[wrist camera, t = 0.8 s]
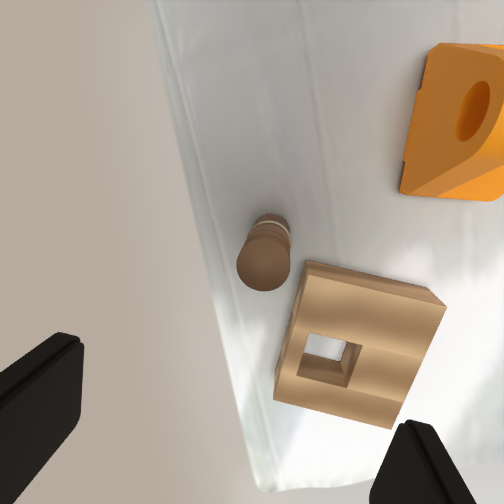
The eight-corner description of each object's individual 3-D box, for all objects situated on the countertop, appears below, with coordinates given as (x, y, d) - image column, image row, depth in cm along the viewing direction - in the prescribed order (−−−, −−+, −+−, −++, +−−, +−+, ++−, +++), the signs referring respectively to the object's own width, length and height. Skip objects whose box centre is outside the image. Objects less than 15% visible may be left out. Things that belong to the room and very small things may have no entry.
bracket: (480, 198, 27) (620, 228, 16) (395, 191, 28) (470, 215, 16) (521, 58, 24) (737, -33, 12) (424, 54, 24) (543, -35, 13)
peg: (256, 208, 29) (240, 233, 20) (295, 217, 29) (297, 246, 20) (248, 245, 31) (230, 285, 21) (285, 254, 30) (284, 298, 21)
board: (306, 259, 30) (308, 274, 27) (427, 287, 30) (447, 306, 26) (274, 373, 35) (273, 399, 31) (379, 399, 34) (391, 429, 30)
